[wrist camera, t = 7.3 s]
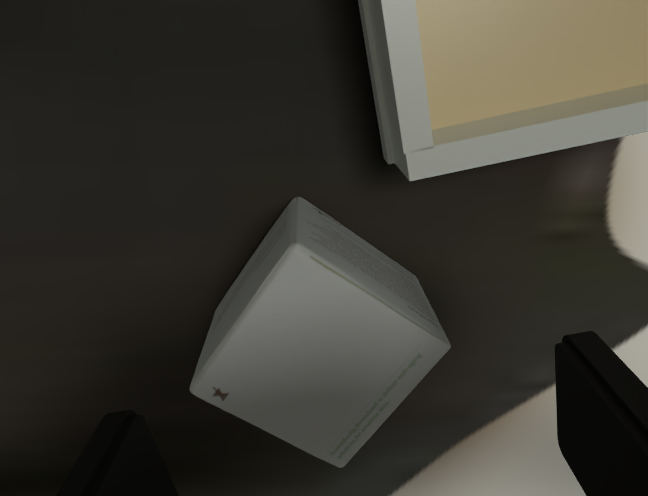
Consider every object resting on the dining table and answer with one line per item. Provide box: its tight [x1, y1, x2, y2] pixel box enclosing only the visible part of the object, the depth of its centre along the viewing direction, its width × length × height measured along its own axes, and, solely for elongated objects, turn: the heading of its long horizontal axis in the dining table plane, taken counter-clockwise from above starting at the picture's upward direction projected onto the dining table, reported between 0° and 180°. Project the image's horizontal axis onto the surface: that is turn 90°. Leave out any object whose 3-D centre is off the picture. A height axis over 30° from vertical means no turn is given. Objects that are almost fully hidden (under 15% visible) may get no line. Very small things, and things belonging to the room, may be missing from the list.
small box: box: [190, 197, 451, 468], centre depth 16 cm, size 6×6×5 cm
